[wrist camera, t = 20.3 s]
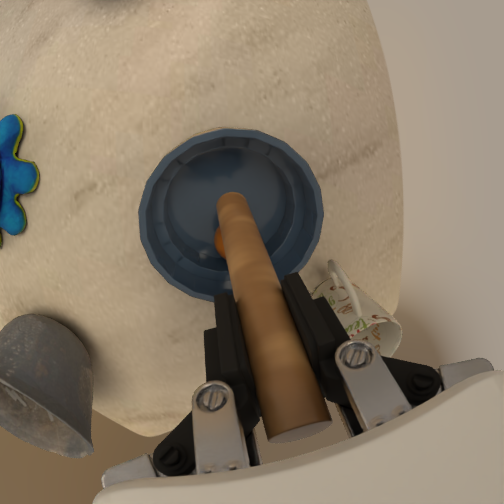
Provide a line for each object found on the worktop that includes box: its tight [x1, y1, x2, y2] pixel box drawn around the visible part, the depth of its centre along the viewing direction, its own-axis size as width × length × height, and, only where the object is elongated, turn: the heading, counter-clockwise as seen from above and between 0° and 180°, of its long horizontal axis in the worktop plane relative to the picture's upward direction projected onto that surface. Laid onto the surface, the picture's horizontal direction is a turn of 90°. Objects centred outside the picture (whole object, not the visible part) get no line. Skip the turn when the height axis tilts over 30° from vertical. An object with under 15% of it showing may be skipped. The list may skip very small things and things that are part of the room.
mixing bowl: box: [138, 127, 324, 302], centre depth 23 cm, size 14×14×6 cm
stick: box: [216, 192, 332, 443], centre depth 12 cm, size 2×2×14 cm
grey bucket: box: [0, 314, 94, 458], centre depth 23 cm, size 18×18×15 cm
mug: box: [312, 259, 402, 358], centre depth 28 cm, size 8×12×10 cm, turn 25°
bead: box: [214, 225, 226, 259], centre depth 25 cm, size 4×4×4 cm
